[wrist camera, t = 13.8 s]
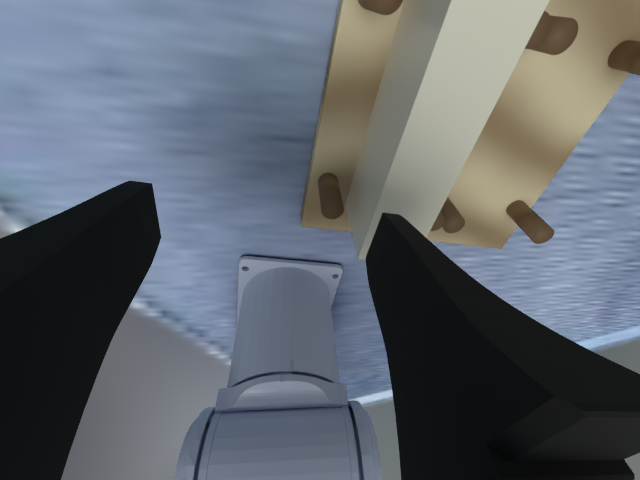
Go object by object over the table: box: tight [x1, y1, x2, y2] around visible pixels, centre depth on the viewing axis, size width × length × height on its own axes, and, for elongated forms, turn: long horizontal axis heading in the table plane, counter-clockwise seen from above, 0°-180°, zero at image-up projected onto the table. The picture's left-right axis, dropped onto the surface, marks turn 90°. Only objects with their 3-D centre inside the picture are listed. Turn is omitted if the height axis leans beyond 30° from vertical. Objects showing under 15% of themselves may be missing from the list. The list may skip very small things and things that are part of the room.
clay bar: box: [345, 0, 550, 260], centre depth 14 cm, size 12×3×5 cm, turn 169°
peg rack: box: [301, 0, 640, 249], centre depth 16 cm, size 16×15×4 cm
